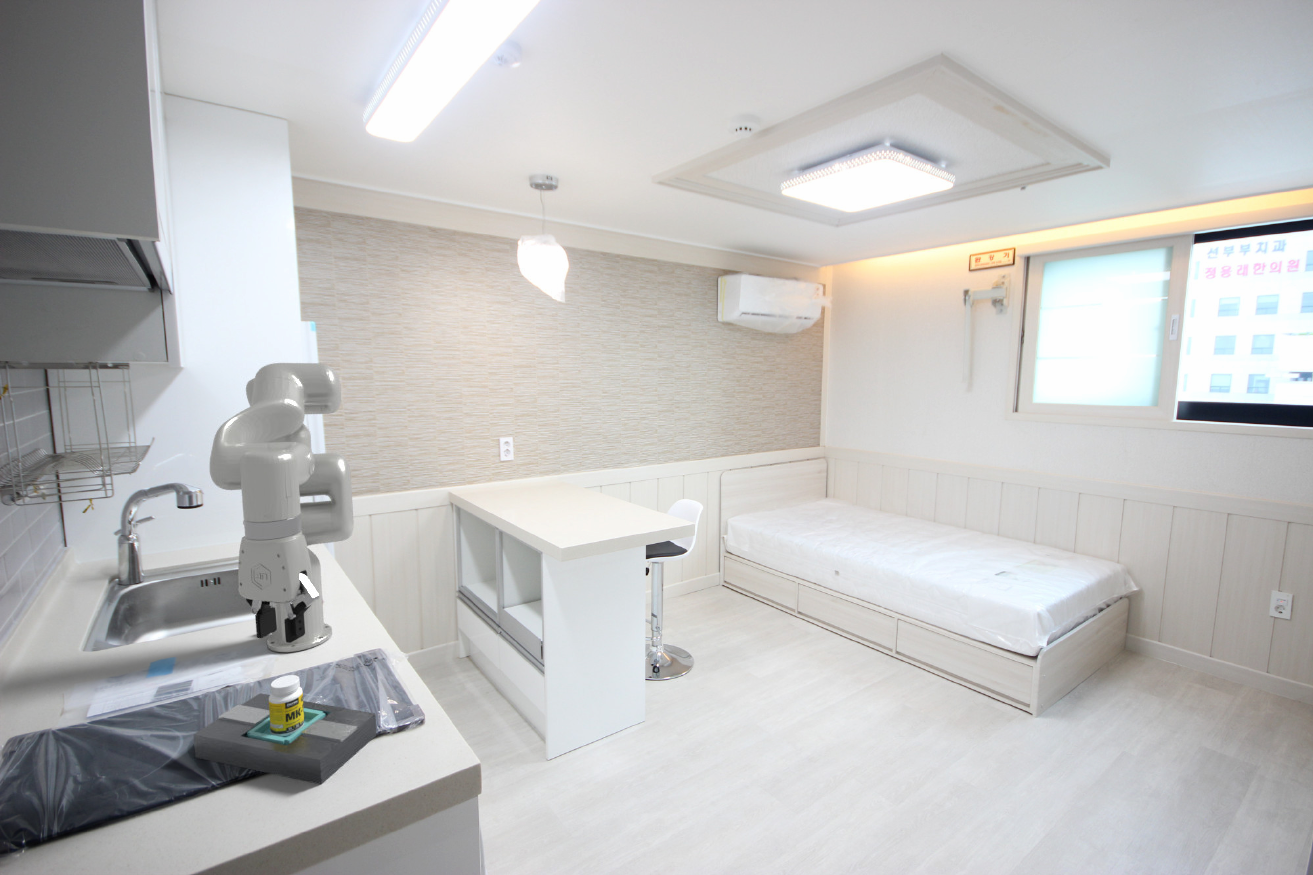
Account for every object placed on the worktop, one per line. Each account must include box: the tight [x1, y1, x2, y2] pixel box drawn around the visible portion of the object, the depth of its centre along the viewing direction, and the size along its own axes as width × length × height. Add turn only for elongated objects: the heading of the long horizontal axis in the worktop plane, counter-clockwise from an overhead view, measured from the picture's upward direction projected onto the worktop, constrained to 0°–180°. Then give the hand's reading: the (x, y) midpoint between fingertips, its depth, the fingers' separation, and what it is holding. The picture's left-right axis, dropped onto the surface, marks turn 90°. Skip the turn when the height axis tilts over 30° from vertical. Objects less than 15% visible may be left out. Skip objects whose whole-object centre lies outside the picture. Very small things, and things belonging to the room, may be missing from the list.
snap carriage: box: [247, 708, 325, 745], centre depth 96 cm, size 8×8×3 cm
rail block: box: [193, 693, 377, 785], centre depth 96 cm, size 24×12×4 cm, turn 77°
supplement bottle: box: [269, 674, 304, 737], centre depth 96 cm, size 5×5×8 cm
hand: (281, 635), depth 94 cm, fingers open, 4 cm apart
